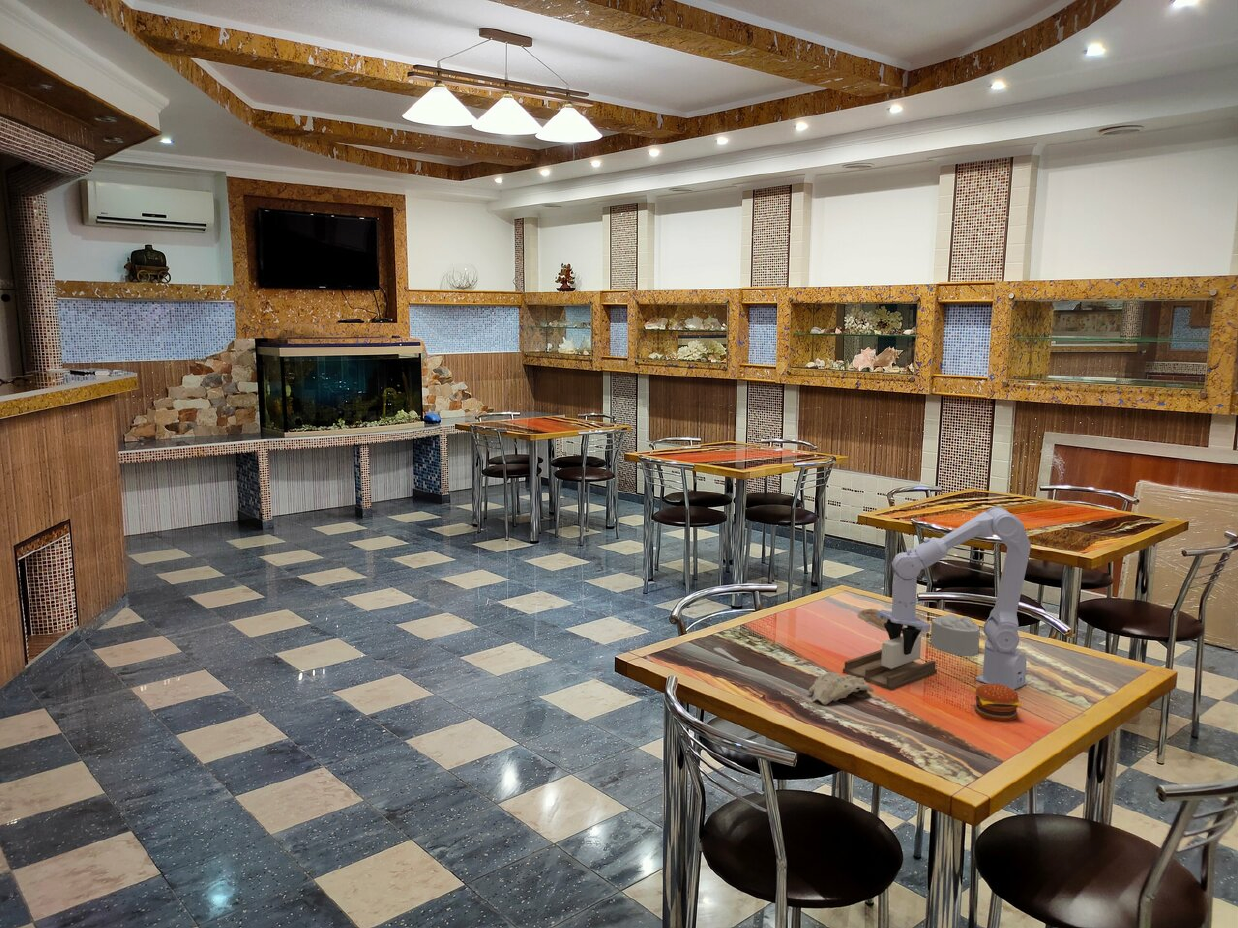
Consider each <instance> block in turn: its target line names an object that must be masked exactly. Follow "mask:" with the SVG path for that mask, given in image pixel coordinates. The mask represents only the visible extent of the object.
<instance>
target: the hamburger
mask: <svg viewBox="0 0 1238 928" xmlns="http://www.w3.org/2000/svg"><path fill="white" fill-rule="evenodd" d="M972 692H973V693H974V694H975V705H974V711H975V713H976V714H977V715H978V716H981V717H983V718H985V719H988V720H992V721H996V722H997V721H998V722H1008V721H1009V722H1010V721H1013V720H1015V719H1017V717H1018V712H1017V708H1018V707H1019V708H1023V705H1022V704H1021V702H1020V700H1019V693H1018V692H1017V691H1016V690H1015V689H1014V690H1013V689H1011V688H1009V687H1007V686H1005V685H1001V684H993V683H983V684H982V685H979V686H977V687H976V688H973V689H972Z"/></svg>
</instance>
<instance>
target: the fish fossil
mask: <svg viewBox="0 0 1238 928" xmlns="http://www.w3.org/2000/svg"><path fill="white" fill-rule="evenodd" d="M878 610H879V609H876V608H868V609H867V608H866V609H865V610H864V609H863V610H860V611H859V612H858V613H857V618H859V619H860V620H863V621H864V622H865V623H867V624H869V625H871V626H872V627H875V628H876V629H878V630H881V631H884V632H887V631H886V629H885V627H884V623H887V620H886V619H882V618H881V619H879V618H877V611H878ZM903 628H905V625H903V627H902V629H903ZM901 635H903V633H902V631H901Z"/></svg>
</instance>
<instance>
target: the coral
mask: <svg viewBox="0 0 1238 928" xmlns="http://www.w3.org/2000/svg"><path fill="white" fill-rule="evenodd" d="M859 691H868V692H870V693H871V692H872V693H873V692H874V691H875V690H874V687H872V685H870V684H869V683H868V682H867V681H865V680H864V679H863V678H857V677H856V676H851V675H849V674H846V675H841V674H840V673H838V672H837V673H836V672H832V671H828V672H825V673H824V674H820V675H819V674H818V675H817V676H816V678H815V680H813V682H812V685H811V686H810V687H809V689H808V692H809V694H811V695H812V700H811V701H812V703H814V702H815V701H819V702H820V703H822V705H825V706H826V705H827V704H830V702H832V701H834V702H836V701H837V702H838V700H839V699H844V698H845V699H846V698H847V697H848V695H850V694H851V693H853V692H854V693H857V692H859Z"/></svg>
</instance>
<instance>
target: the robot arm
mask: <svg viewBox="0 0 1238 928" xmlns="http://www.w3.org/2000/svg"><path fill="white" fill-rule="evenodd" d="M993 534H995V535H996V536H997V537H998V538H999V539H1000V540H1001V542H1002V543H1003V544H1004V545H1005V546H1006V548H1007V549H1006V553H1005V558H1004V561H1003V565H1002V566H1003V567H1002V572H1001V575H1000V576H1001V577H1000V581H999V586H998V590H997V594H996V599H995V600H996V601H995V605H994V607H993V609H991V611H990V613H989V617H988V618H987V620H986V621H985V622H984V624H983V626H982V627H983V628H982V630H983V634H984V636H986V637H987V638H986V641H985V642H984V651H983V665H982V666H983V667H982V674H981V675H979V676H976V677H975V678H974V679H975V681H978V682H981V683H983V684H987V683H993V684H1001V685H1005V686H1007V687H1009V688H1011V689H1013V690H1014V691H1015V690H1017V689H1019V688H1020V687H1023V686H1025V685H1027V681H1026V676H1027V675H1026V673H1027V657H1026V655H1025V654H1023V653H1021V652H1019V651H1018V650H1017V647H1018V646H1019V643H1020V635H1019V632H1018V631H1019V630H1018V629H1019V620H1018V616H1017V615H1018V614H1017V613H1018V609H1019V604H1020V600H1021V595H1022V589H1023V585H1024V582H1025V581H1024V580H1025V576H1026V573H1027V572H1026V571H1027V567H1028V562H1029V558H1030V553H1031V549H1032V544H1031V541H1030V538H1029V536H1028V534H1027V531H1026V528H1025V525H1024V523H1023V522H1022V521H1021V520H1020V519H1019V518H1018V517H1017V516H1016V515H1014V514H1012V513H1010V512H1009V511H1008V510H1006V509H1005V508H1004V507H1001V506H993V507H990V508H989V509H988V510H986V511H981V512H980V513H979V514H977V515H975V516H974V517H973V518H971V519H970V520H968V521H966V522H965V523H964V524H961V525H960V526H958V527H957V528H955V529H953V530H952V531H950V532H949V533H947V534H945V535H944V536H942V537H940V538H938V537H934V536H932V537H931V538H929V537H925V538H923V542H922V543H919V544H918V545H916V546H915V547H912V548H911V547H909V548H907V549H906V552H904V551H902V552H899V553H897V554H895V556H894V558H893V560H892V561H891V566H892V569H893V570H894V574H893V583H892V598H891V599H892V602H891V603H892V604H891V610H885V609H877V610H878V611H877V618H879V619H881V618H882V619H886V620H887V623H884V627H885V629H886V631H885V632H886V633H887V635H888V638H889V640H892V639H895V638H898V637H901V636H903V638H904V654H905V655H908V654H911V652H912V648H913V645H914V643H915V641H916V639H917V637H918V635H919V636H920V634H921V633H929V632H931V623H929V622H926V621H924V620H922V619H920V618H918V617H916V610H917V608H916V607H917V588H918V584H917V581H918V580H917V579H918V577H919V575H920V574H921V571H922V570H924V569H926V568H928V567H930V566H932V565H934V564H936V563H938V562H939V561H940V560H942V559H944V558H946V556H947V554H948V551H949V550H951V549H953V548H955V547H957V546H959V545H962V544H963V543H966V542H967V541H969V540H972V539H973V538H976V537H979V536H980V537H988V538H992V537H993ZM903 626H904V628H903V629H902V627H903ZM905 626H906V627H905ZM901 631H902V633H903V634H902V633H901Z"/></svg>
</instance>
